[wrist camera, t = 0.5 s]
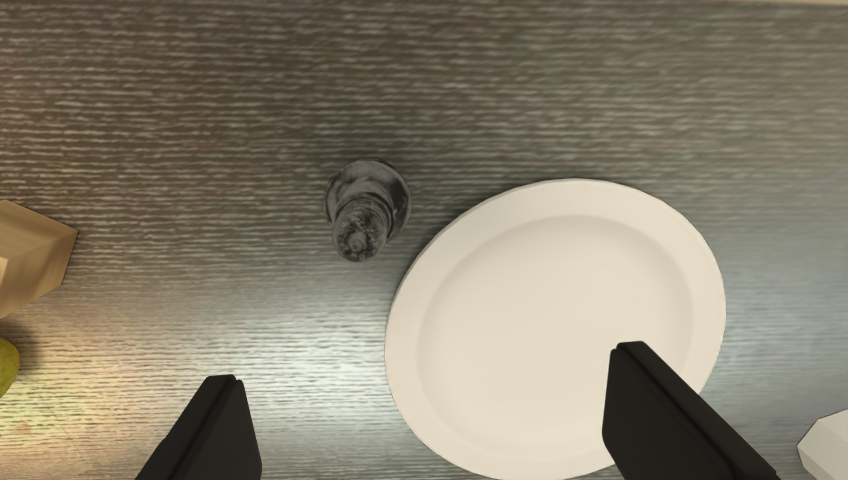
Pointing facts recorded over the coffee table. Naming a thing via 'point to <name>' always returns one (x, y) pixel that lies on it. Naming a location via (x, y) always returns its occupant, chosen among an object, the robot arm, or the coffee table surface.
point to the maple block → (30, 255)
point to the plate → (545, 323)
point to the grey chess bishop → (366, 208)
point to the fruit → (8, 365)
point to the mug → (826, 448)
